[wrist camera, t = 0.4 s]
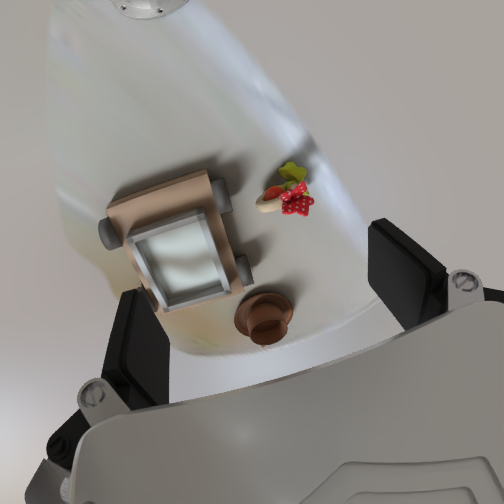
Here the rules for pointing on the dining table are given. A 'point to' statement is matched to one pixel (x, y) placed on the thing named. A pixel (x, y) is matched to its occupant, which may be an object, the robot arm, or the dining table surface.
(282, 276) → the dining table surface
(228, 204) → the chassis
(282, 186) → the bird rattle
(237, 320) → the cup and saucer
